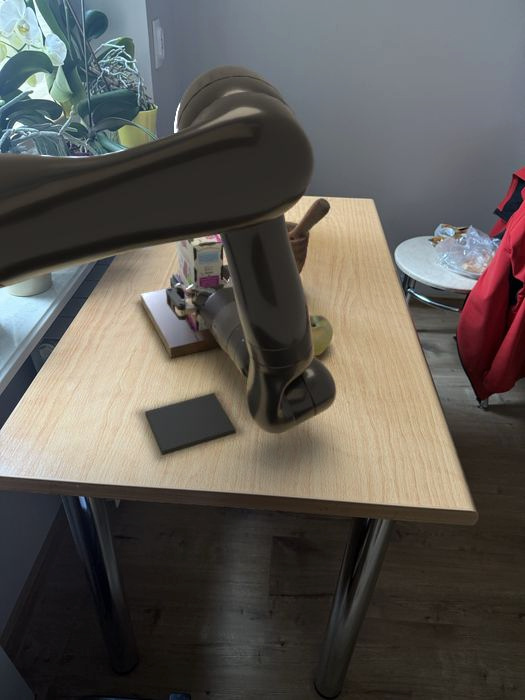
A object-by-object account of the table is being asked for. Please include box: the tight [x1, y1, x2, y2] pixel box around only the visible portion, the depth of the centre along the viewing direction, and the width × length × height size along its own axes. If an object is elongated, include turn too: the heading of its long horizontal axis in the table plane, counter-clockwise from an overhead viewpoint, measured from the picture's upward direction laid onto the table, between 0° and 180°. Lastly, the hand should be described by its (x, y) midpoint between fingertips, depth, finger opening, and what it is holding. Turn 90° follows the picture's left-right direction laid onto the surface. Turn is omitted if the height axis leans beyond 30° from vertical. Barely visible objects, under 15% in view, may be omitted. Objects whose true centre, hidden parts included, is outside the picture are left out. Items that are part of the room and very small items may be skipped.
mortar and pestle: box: [286, 197, 331, 275], centre depth 94 cm, size 12×9×20 cm
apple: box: [309, 314, 334, 357], centre depth 85 cm, size 6×8×6 cm
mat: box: [144, 392, 236, 455], centre depth 71 cm, size 10×8×1 cm
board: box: [140, 277, 227, 359], centre depth 92 cm, size 16×18×2 cm
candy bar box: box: [176, 234, 224, 332], centre depth 88 cm, size 11×5×16 cm, turn 22°
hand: (199, 274), depth 87 cm, fingers open, 8 cm apart
